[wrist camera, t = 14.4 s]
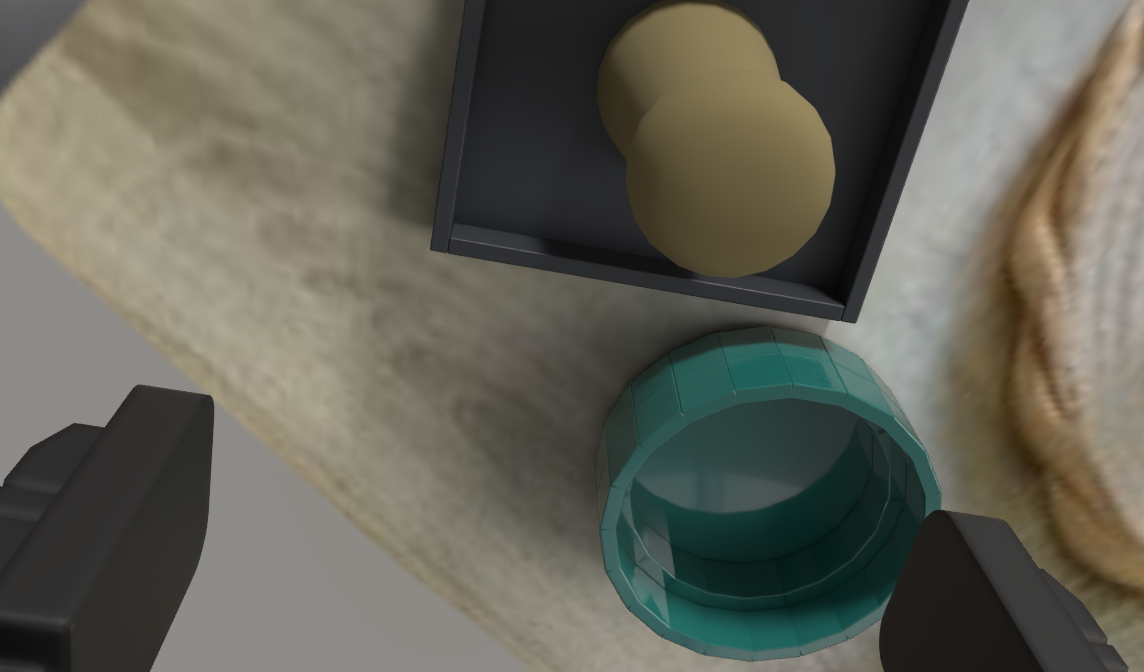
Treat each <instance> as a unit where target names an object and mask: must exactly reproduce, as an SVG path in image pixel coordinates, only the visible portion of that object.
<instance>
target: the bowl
mask: <svg viewBox="0 0 1144 672" xmlns="http://www.w3.org/2000/svg"><path fill="white" fill-rule="evenodd" d="M595 467H596V484H597V501H598V518H599V532H600V539H601V547H602V554H603V561H604V568H605V571H606V574H607V575H608V577H609V579H610V581H611V582H612V584H613V586H614V588H615V589H616V591H617V593H618V595H619V596H620V598H621V600H622V602H623V603H624V605H625V607H626V608H627V609H628V610H629V611H630V612H632V613H633V614H634V615H635V616H636V617H637V618H639V619H640V620H641V621H642V622H643V623H645V624H646V625H647V626H648V627H649V628H650V629H652V630H653V631H654V632H655V633H656V634H658V635H659V636H661V637H662V638H664V639H667V640H669V641H671V642H674V643H676V644H679V645H681V646H683V647H686V648H688V649H690V650H693V651H695V652H697V653H700V654H703V655H706V656H713V657H721V658H728V659H735V660H742V661H749V662H750V661H762V660H772V659H782V658H792V657H800V656H804V655H807V654H810V653H813V652H816V651H818V650H821V649H824V648H827V647H830V646H833V645H836V644H839V643H841V642H844V641H847V640H848V639H851V638H853V637H854V636H856V635H857V634H859V633H860V632H862V631H863V630H865V629H866V628H868V627H869V626H871V625H873V624H874V623H876V622H877V621H879V620H880V619H882V617H883V614H884V611H885V609H886V606H887V604H888V602H889V599H890V597H891V595H892V592H893V590H894V588H895V585H896V583H897V581H898V578H899V576H900V574H901V571H902V569H903V566H904V564H905V562H906V559H907V557H908V555H909V552H910V550H911V548H912V545H913V543H914V541H915V538H916V536H917V534H918V531H919V529H920V527H921V525H922V523H923V521H924V520H925V518H926V517H927V516H928V515H929V514H930V513H931V512H933V511H935V510H941V494H942V493H941V488H940V486H939V483H938V480H937V478H936V475H935V472H934V470H933V467H932V464H931V462H930V459H929V456H928V453H927V451H926V449H925V448H924V446H923V444H922V442H921V441H920V439H919V437H918V436H917V434H916V432H915V431H914V429H913V427H912V425H911V424H910V422H909V420H908V419H907V417H906V415H905V413H904V412H903V410H902V408H901V407H900V405H899V403H898V401H897V400H896V398H895V396H894V395H893V393H892V391H891V390H890V388H889V387H888V386H887V385H886V384H885V383H884V382H883V381H882V379H881V378H880V377H879V376H878V375H877V374H876V373H875V372H874V371H873V370H872V369H871V367H870V366H869V365H868V364H867V363H866V362H865V361H864V360H863V359H862V358H860V357H859V356H858V355H856V354H854V353H852V352H850V351H848V350H846V349H844V348H843V347H841V346H839V345H837V344H835V343H833V342H831V341H829V340H827V339H825V338H823V337H821V336H818V335H816V334H810V333H804V332H798V331H793V330H787V329H781V328H775V327H768V326H765V327H757V328H748V329H740V330H731V331H722V332H717V333H713V334H711V335H708V336H706V337H704V338H701V339H699V340H696V341H694V342H692V343H689V344H687V345H684V346H682V347H679V348H677V349H675V350H672V351H670V352H669V353H668V354H666V355H665V356H664V357H662V358H661V359H660V360H659V361H657V362H656V363H655V364H654V365H652V366H651V367H650V368H649V369H647V370H646V371H645V372H644V373H643V374H641V375H640V376H639V377H638V378H636V379H635V380H634V381H633V382H632V383H630V384H629V386H628V387H627V389H626V390H625V392H624V393H623V395H622V396H621V398H620V399H619V401H618V402H617V404H616V405H615V407H614V408H613V410H612V412H611V413H610V415H609V416H608V418H607V419H606V422H605V424H604V428H603V432H602V436H601V440H600V445H599V449H598V453H597V457H596V463H595Z"/></svg>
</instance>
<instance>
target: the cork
mask: <svg viewBox="0 0 1144 672" xmlns="http://www.w3.org/2000/svg"><path fill="white" fill-rule="evenodd" d="M596 99H597V103H598V107H599V111H600V115H601V119H602V123H603V127H604V128H605V130H606V131H607V133H608V134H609V136H610V138H611V139H612V141H613V142H614V144H615V145H616V147H617V149H618V150H619V151H620V153H621V154H622V155H623V157H624V158H625V159H626V160H627V169H626V180H625V182H626V189H627V193H628V197H629V201H630V205H631V209H632V213H633V217H634V219H635V221H636V223H637V224H638V226H639V227H640V229H641V230H642V232H643V233H644V235H645V236H646V238H647V239H648V241H649V243H650V244H651V245H653V246H654V247H655V248H656V249H658V250H659V251H660V252H661V253H663V254H664V255H665V256H666V257H668V258H669V259H670V260H672V261H673V262H674V263H675V264H677V265H678V266H680V267H682V268H685V269H688V270H691V271H693V272H696V273H699V274H702V275H704V276H711V277H731V278H738V277H742V276H746V275H750V274H754V273H758V272H763V271H767V270H768V269H770V268H772V267H774V266H775V265H777V264H779V263H781V262H782V261H784V260H786V259H788V258H790V257H791V256H793V255H794V254H795V253H796V252H797V251H798V250H799V249H800V248H801V247H802V246H803V245H804V244H805V243H806V242H807V241H808V240H809V239H810V238H811V237H812V236H813V235H814V234H815V233H816V231H817V229H818V227H819V225H820V223H821V221H822V219H823V218H824V216H825V214H826V212H827V210H828V208H829V206H830V202H831V196H832V191H833V185H834V180H835V163H834V157H833V150H832V143H831V137H830V135H829V133H828V131H827V129H826V128H825V126H824V124H823V122H822V120H821V118H820V116H819V115H818V113H817V111H816V109H815V108H814V107H813V106H812V105H811V104H810V103H809V102H808V101H807V100H805V99H804V98H803V97H802V96H801V95H800V94H799V93H798V92H796V91H795V90H794V89H793V88H792V87H791V86H790V85H789V84H787V83H786V82H784V81H781V79H780V75H779V72H778V68H777V64H776V60H775V57H774V53H773V51H772V49H771V47H770V45H769V43H768V42H767V40H766V38H765V36H764V34H763V32H762V30H761V29H760V27H759V26H758V25H757V24H756V23H754V22H753V21H752V20H751V19H750V18H749V17H748V16H747V15H746V14H744V13H743V12H742V11H741V10H740V9H739V8H737V7H734V6H732V5H730V4H727V3H725V2H722V1H720V0H663V1H660V2H656V3H653V4H652V5H650V6H648V7H647V8H645V9H644V10H642V11H641V12H639V13H638V14H636V15H635V16H633V17H632V18H630V19H629V20H628V21H627V22H626V23H625V24H624V26H623V27H622V28H621V29H620V30H619V32H618V33H617V34H616V35H615V37H614V38H613V39H612V40H611V41H610V43H609V45H608V47H607V50H606V52H605V55H604V57H603V60H602V62H601V65H600V68H599V70H598V83H597V97H596Z"/></svg>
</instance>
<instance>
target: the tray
mask: <svg viewBox="0 0 1144 672" xmlns="http://www.w3.org/2000/svg"><path fill="white" fill-rule="evenodd" d="M660 1H663V0H465V5H464V12H463V19H462V26H461V33H460V40H459V47H458V54H457V61H456V69H455V76H454V83H453V90H452V97H451V104H450V111H449V118H448V125H447V132H446V139H445V146H444V154H443V161H442V168H441V175H440V182H439V189H438V196H437V203H436V210H435V217H434V224H433V231H432V239H431V246H430V250H432V251H438V252H443V253H447V252H448V253H449V254H454V255H460V256H466V257H472V258H478V259H483V260H489V261H495V262H501V263H506V264H512V265H518V266H524V267H530V268H535V269H541V270H547V271H553V272H558V273H564V274H570V275H576V276H582V277H587V278H593V279H599V280H605V281H611V282H616V283H622V284H628V285H634V286H639V287H645V288H651V289H657V290H663V291H668V292H674V293H680V294H686V295H691V296H697V297H703V298H709V299H715V300H720V301H726V302H732V303H738V304H743V305H749V306H755V307H761V308H767V309H772V310H778V311H784V312H790V313H796V314H801V315H807V316H813V317H819V318H824V319H830V320H836V321H840V320H841V321H843V322H849V323H856V322H857V319H858V316H859V313H860V311H861V308H862V305H863V302H864V299H865V296H866V293H867V291H868V288H869V285H870V282H871V279H872V276H873V273H874V271H875V268H876V265H877V262H878V259H879V256H880V253H881V251H882V248H883V245H884V242H885V239H886V236H887V233H888V231H889V228H890V225H891V222H892V219H893V216H894V213H895V211H896V208H897V205H898V202H899V199H900V196H901V193H902V191H903V188H904V185H905V182H906V179H907V176H908V173H909V171H910V168H911V165H912V162H913V159H914V156H915V153H916V151H917V148H918V145H919V142H920V139H921V136H922V133H923V131H924V128H925V125H926V122H927V119H928V116H929V113H930V111H931V108H932V105H933V102H934V99H935V96H936V93H937V91H938V88H939V85H940V82H941V79H942V76H943V74H944V71H945V68H946V65H947V62H948V59H949V56H950V54H951V51H952V48H953V45H954V42H955V39H956V36H957V34H958V31H959V28H960V25H961V22H962V19H963V16H964V14H965V11H966V8H967V5H968V2H969V0H720V1H722V2H725V3H727V4H730V5H732V6H734V7H737V8H739V9H740V10H741V11H742V12H743V13H744V14H746V15H747V16H748V17H749V18H750V19H751V20H752V21H753V22H754V23H756V24H757V25H758V26H759V27H760V29H761V30H762V32H763V34H764V36H765V38H766V40H767V42H768V43H769V45H770V47H771V49H772V51H773V53H774V57H775V60H776V64H777V68H778V72H779V75H780V79H781V81H784V82H786V83H787V84H789V85H790V86H791V87H792V88H793V89H794V90H795V91H796V92H798V93H799V94H800V95H801V96H802V97H803V98H804V99H805V100H807V101H808V102H809V103H810V104H811V105H812V106H813V107H814V108H815V109H816V111H817V113H818V115H819V116H820V118H821V120H822V122H823V124H824V126H825V128H826V129H827V131H828V133H829V135H830V137H831V143H832V150H833V157H834V163H835V180H834V185H833V191H832V196H831V202H830V206H829V208H828V210H827V212H826V214H825V216H824V218H823V219H822V221H821V223H820V225H819V227H818V229H817V231H816V233H815V234H814V235H813V236H812V237H811V238H810V239H809V240H808V241H807V242H806V243H805V244H804V245H803V246H802V247H801V248H800V249H799V250H798V251H797V252H796V253H795V254H794V255H793V256H791V257H790V258H788V259H786V260H784V261H782V262H781V263H779V264H777V265H775V266H774V267H772V268H770V269H768V270H767V271H763V272H758V273H754V274H750V275H746V276H742V277H738V278H731V277H711V276H704V275H702V274H699V273H696V272H693V271H691V270H688V269H685V268H682V267H680V266H678V265H677V264H675V263H674V262H673V261H672V260H670V259H669V258H668V257H666V256H665V255H664V254H663V253H661V252H660V251H659V250H658V249H656V248H655V247H654V246H653V245H651V244H650V243H649V241H648V239H647V238H646V236H645V235H644V233H643V232H642V230H641V229H640V227H639V226H638V224H637V223H636V221H635V219H634V217H633V213H632V209H631V205H630V201H629V197H628V193H627V189H626V182H625V180H626V169H627V160H626V159H625V158H624V157H623V155H622V154H621V153H620V151H619V150H618V149H617V147H616V145H615V144H614V142H613V141H612V139H611V138H610V136H609V134H608V133H607V131H606V130H605V128H604V127H603V123H602V119H601V115H600V111H599V107H598V103H597V99H596V97H597V83H598V70H599V68H600V65H601V62H602V60H603V57H604V55H605V52H606V50H607V47H608V45H609V43H610V41H611V40H612V39H613V38H614V37H615V35H616V34H617V33H618V32H619V30H620V29H621V28H622V27H623V26H624V24H625V23H626V22H627V21H628V20H629V19H630V18H632V17H633V16H635V15H636V14H638V13H639V12H641V11H642V10H644V9H645V8H647V7H648V6H650V5H652V4H653V3H656V2H660Z"/></svg>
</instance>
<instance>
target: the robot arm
mask: <svg viewBox="0 0 1144 672" xmlns="http://www.w3.org/2000/svg"><path fill="white" fill-rule="evenodd" d="M213 427H214V402H213V399H212V397H211V396H210V395H205V394H199V393H192V392H186V391H179V390H172V389H166V388H160V387H153V386H146V385H137V386H135V387H134V388H133V389H132V391H131V392H130V393H129V395H128V396H127V398H126V399H125V400H124V401H123V403H122V404H121V406H120V407H119V408H118V410H117V411H116V413H115V414H114V415H113V417H112V418H111V420H110V421H109V422H108V424H107V425H106V426H105V427H98V426H91V425H85V424H77V423H74V424H72V425H70V426H68V427H66V428H64V429H63V430H61V431H59V432H57V433H55V434H54V435H52V436H50V437H48V438H47V439H45V440H43V441H41V442H39V443H37V444H36V445H34V446H32V447H30V449H29V450H28V451H27V452H26V454H25V455H24V456H23V457H22V458H21V460H20V461H19V462H18V463H17V464H16V466H15V467H14V468H13V469H12V471H11V472H10V473H9V474H8V475H7V477H6V478H5V479H4V484H3V486H2V487H1V486H0V672H150V670H151V668H152V665H153V663H154V661H155V659H156V657H157V655H158V652H159V650H160V648H161V646H162V643H163V641H164V639H165V637H166V635H167V633H168V631H169V628H170V626H171V624H172V622H173V620H174V618H175V615H176V613H177V611H178V609H179V607H180V604H181V602H182V600H183V598H184V596H185V593H186V591H187V589H188V587H189V585H190V583H191V580H192V578H193V576H194V574H195V571H196V569H197V566H198V563H199V560H200V556H201V552H202V549H203V544H204V540H205V535H206V529H207V522H208V513H209V496H210V479H211V462H212V444H213ZM1107 639H1108V638H1107V637H1106V635H1105V634H1104V633H1103V631H1102V630H1101V628H1100V627H1099V626H1098V624H1097V623H1096V621H1095V620H1094V618H1093V617H1092V616H1091V614H1090V613H1089V611H1088V610H1087V609H1086V607H1085V606H1084V604H1083V603H1082V602H1081V601H1080V600H1079V599H1077V598H1076V597H1075V596H1074V595H1073V594H1072V593H1071V592H1069V591H1068V590H1067V589H1066V588H1065V587H1064V586H1062V585H1061V584H1060V583H1059V582H1058V581H1057V580H1055V579H1054V578H1053V577H1052V576H1051V575H1050V574H1048V573H1047V572H1046V571H1045V570H1044V569H1039V568H1038V567H1037V565H1036V564H1035V562H1034V561H1033V559H1032V558H1031V556H1030V555H1029V553H1028V552H1027V550H1026V549H1025V548H1024V546H1023V545H1022V543H1021V542H1020V540H1019V539H1018V537H1017V536H1016V534H1015V533H1014V531H1013V530H1012V528H1011V527H1010V526H1009V525H1008V524H1007V523H1006V522H1005V521H1004V520H1001V519H998V518H991V517H985V516H978V515H972V514H965V513H959V512H952V511H946V510H935V511H933V512H931V513H930V514H929V515H928V516H927V517H926V518H925V520H924V521H923V523H922V525H921V527H920V529H919V531H918V534H917V536H916V538H915V541H914V543H913V545H912V548H911V550H910V552H909V555H908V557H907V559H906V562H905V564H904V566H903V569H902V571H901V574H900V576H899V578H898V581H897V583H896V585H895V588H894V590H893V592H892V595H891V597H890V599H889V602H888V604H887V606H886V609H885V611H884V614H883V617H882V621H881V627H880V636H879V649H880V658H881V663H882V667H883V669H884V672H1128V666H1127V665H1126V664H1125V662H1124V661H1123V659H1122V658H1121V657H1120V655H1119V654H1118V652H1117V651H1116V650H1115V648H1114V647H1113V646H1112V645H1107Z"/></svg>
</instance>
